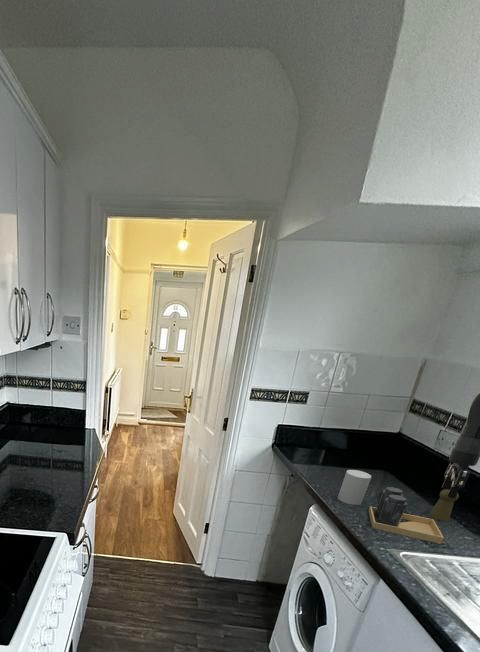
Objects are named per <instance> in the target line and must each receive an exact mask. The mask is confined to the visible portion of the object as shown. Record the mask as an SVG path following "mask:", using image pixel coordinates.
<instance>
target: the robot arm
mask: <svg viewBox="0 0 480 652" xmlns="http://www.w3.org/2000/svg"><path fill="white" fill-rule="evenodd" d="M479 460H480V392H479V393H478V394H476V396H475V397H474V398H473V400H472V402H471V404H470V407H469V410H468V414H467V419H466V421H465V423H464V425H463V427H462V429H461V431H460V435H459V436H458V438H457V439H456V441H455V443H454V446H453V448H452V450H451V453H450V455H449V458H448V461H449V464H448V466H447V468H446V470H445V472H444V481H443V483H442V485H441V489H442V490H445V489H448V490H450V491H449V493H448V497H451V498H456V496H457V494H459V491H460V490H461V489H464V488H465V485H466V484H467V481H468V480H469V477H470V474H471V471H469V470H468V468H469V467H475V466H477V464H478V462H479Z"/></svg>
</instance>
